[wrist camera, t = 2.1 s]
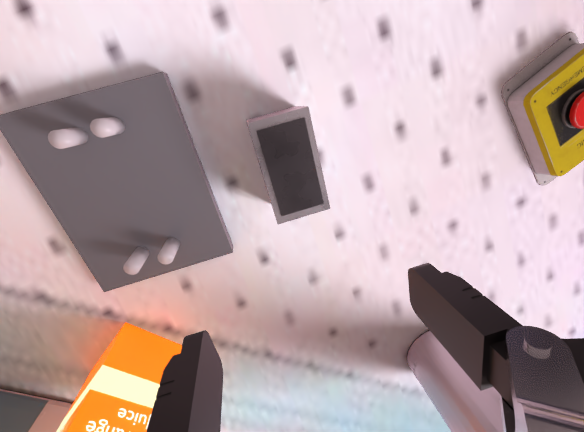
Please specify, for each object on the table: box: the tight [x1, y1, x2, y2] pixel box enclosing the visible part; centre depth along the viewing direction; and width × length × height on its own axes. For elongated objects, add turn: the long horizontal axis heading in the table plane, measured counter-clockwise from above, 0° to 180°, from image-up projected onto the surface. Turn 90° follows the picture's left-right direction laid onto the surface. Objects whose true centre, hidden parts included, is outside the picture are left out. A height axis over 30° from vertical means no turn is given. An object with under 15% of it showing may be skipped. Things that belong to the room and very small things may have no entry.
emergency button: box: [502, 32, 584, 185], centre depth 32 cm, size 9×4×15 cm
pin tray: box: [0, 72, 233, 292], centre depth 26 cm, size 14×18×4 cm
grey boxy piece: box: [246, 106, 330, 224], centre depth 27 cm, size 5×9×6 cm, turn 14°
